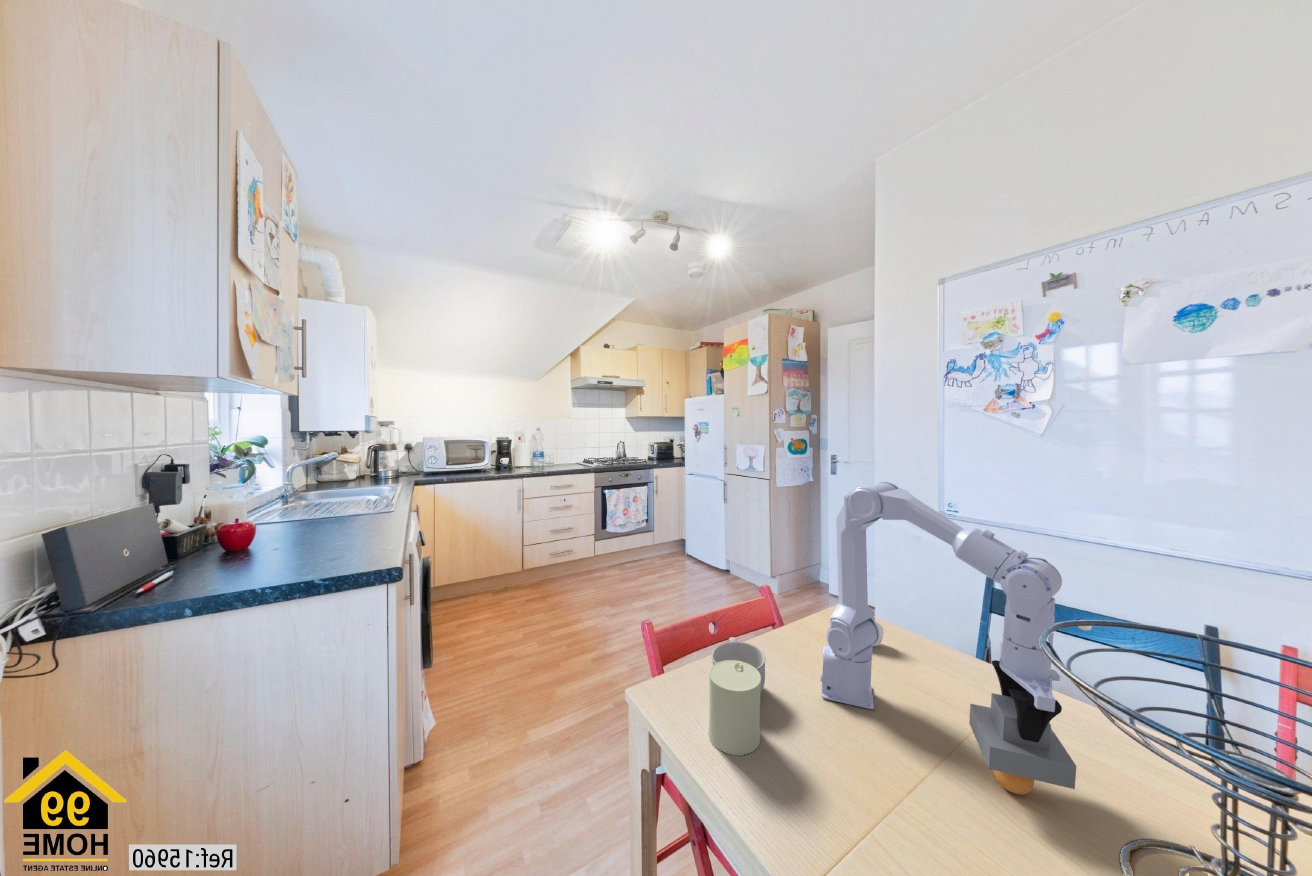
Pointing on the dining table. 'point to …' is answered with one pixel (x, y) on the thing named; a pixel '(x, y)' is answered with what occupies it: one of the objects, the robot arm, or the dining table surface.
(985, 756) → the low gray platform
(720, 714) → the can
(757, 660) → the teacup
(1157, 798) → the dining table surface
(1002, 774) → the brown egg
